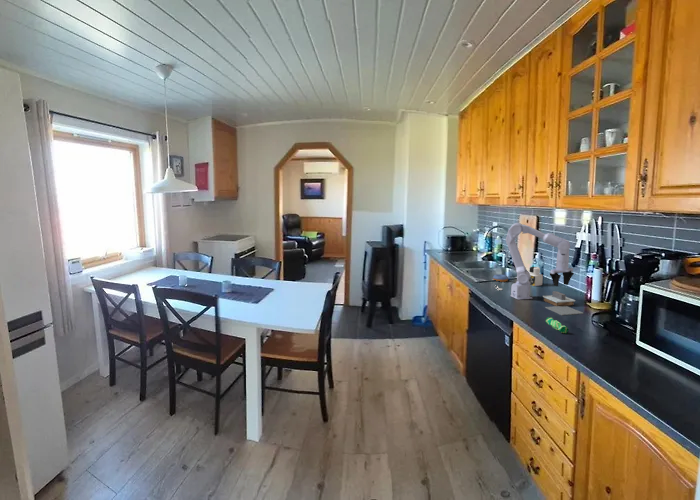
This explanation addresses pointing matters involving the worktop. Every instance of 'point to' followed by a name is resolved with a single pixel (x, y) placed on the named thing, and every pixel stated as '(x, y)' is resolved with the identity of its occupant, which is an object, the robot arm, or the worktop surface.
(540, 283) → the medicine bottle
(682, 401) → the worktop surface
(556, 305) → the box
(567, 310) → the mat
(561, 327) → the candy
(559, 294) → the lid
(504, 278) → the doughnut
